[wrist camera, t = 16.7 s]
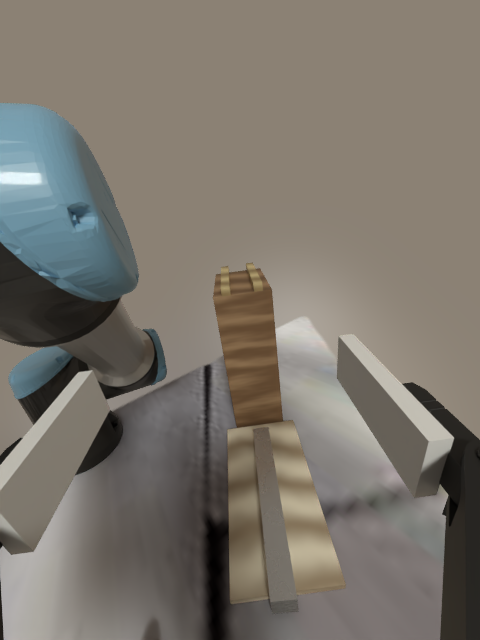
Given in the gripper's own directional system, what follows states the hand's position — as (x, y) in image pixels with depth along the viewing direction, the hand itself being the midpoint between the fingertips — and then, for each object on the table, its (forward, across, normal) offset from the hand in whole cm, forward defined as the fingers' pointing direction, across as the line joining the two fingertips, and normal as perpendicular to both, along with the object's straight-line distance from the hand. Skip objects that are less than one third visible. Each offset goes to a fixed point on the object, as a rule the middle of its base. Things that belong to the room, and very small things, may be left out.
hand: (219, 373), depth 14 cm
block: (+13, +2, -35) cm, 37 cm away
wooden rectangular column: (+38, +3, -36) cm, 52 cm away
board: (+16, +3, -36) cm, 39 cm away
